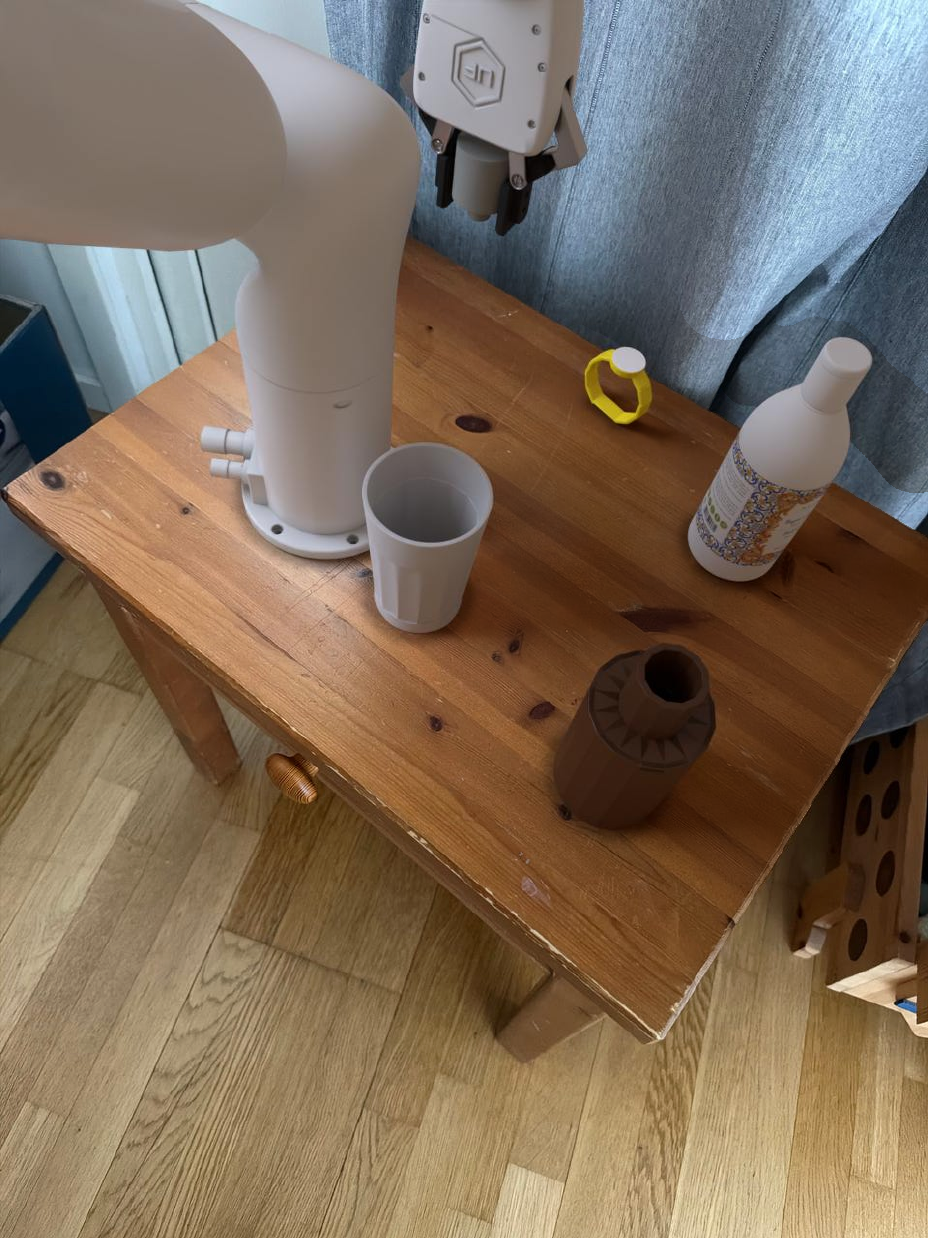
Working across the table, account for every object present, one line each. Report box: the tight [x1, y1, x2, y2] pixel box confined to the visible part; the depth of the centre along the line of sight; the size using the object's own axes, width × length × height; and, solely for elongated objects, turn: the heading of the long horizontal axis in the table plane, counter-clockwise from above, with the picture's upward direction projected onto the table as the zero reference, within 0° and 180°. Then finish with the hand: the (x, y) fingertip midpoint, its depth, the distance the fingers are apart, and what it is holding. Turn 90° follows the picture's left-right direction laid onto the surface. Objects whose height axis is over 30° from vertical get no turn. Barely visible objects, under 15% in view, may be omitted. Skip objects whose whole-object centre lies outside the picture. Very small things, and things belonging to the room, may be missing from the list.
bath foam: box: [687, 336, 873, 582], centre depth 61 cm, size 7×7×20 cm
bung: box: [452, 131, 510, 223], centre depth 65 cm, size 4×4×6 cm
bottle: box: [552, 642, 717, 830], centre depth 53 cm, size 7×7×15 cm
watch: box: [584, 346, 653, 425], centre depth 73 cm, size 6×3×6 cm, turn 44°
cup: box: [362, 441, 494, 634], centre depth 60 cm, size 8×8×12 cm
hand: (479, 210), depth 67 cm, fingers closed on bung, 4 cm apart
